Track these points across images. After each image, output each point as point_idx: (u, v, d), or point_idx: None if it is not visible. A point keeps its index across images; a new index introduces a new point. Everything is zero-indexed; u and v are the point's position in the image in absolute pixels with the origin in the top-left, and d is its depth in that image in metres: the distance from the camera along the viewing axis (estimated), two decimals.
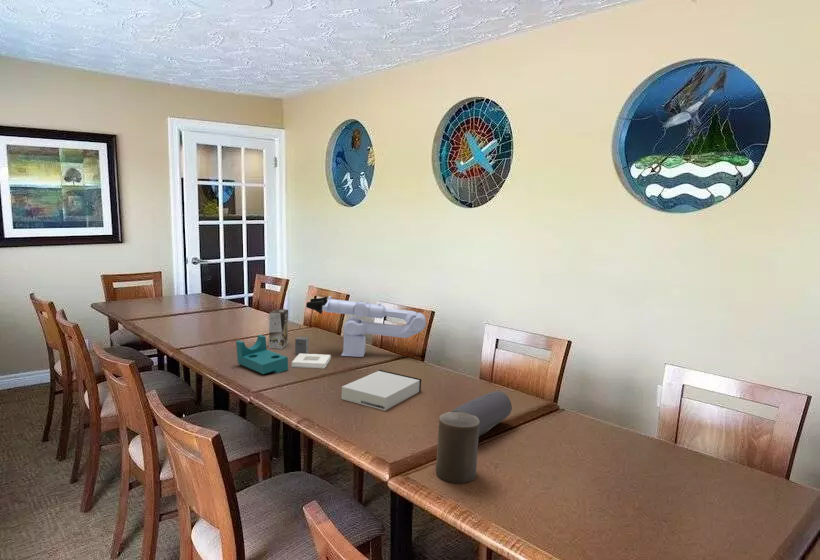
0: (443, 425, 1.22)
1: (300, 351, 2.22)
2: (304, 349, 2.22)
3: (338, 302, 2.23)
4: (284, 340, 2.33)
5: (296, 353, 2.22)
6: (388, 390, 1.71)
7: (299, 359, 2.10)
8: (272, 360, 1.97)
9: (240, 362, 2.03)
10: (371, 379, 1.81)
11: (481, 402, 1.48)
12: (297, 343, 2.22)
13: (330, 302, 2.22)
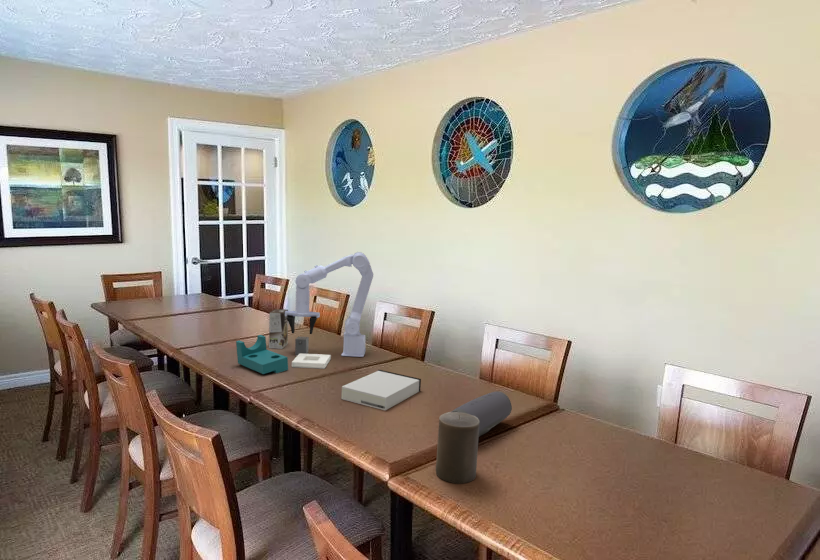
0: (443, 425, 1.22)
1: (300, 351, 2.22)
2: (304, 349, 2.22)
3: (305, 304, 2.20)
4: (284, 340, 2.33)
5: (296, 353, 2.22)
6: (388, 390, 1.71)
7: (299, 359, 2.10)
8: (272, 360, 1.97)
9: (240, 362, 2.03)
10: (371, 379, 1.81)
11: (481, 402, 1.48)
12: (297, 343, 2.22)
13: (306, 311, 2.21)
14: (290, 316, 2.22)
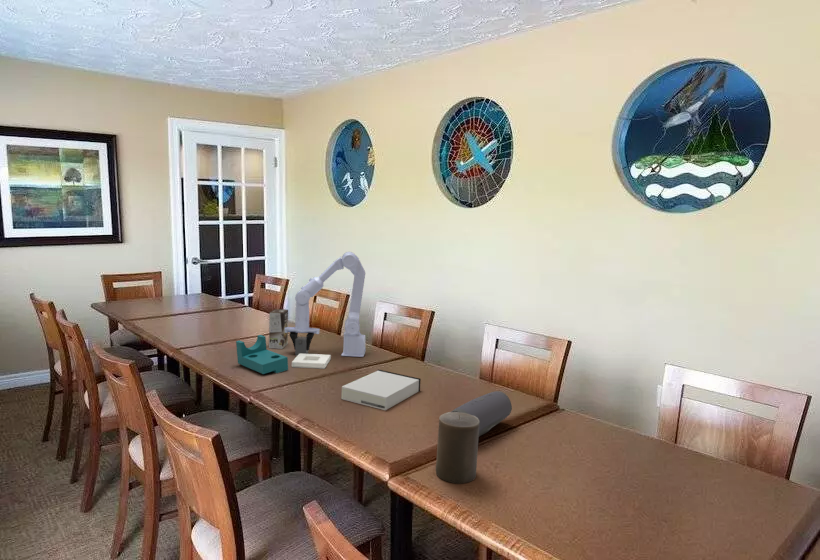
0: (443, 425, 1.22)
1: (300, 351, 2.22)
2: (304, 349, 2.22)
3: (305, 320, 2.21)
4: (284, 340, 2.33)
5: (296, 353, 2.22)
6: (388, 389, 1.71)
7: (299, 359, 2.10)
8: (272, 360, 1.97)
9: (240, 362, 2.03)
10: (370, 379, 1.81)
11: (481, 402, 1.48)
12: (297, 343, 2.22)
13: (306, 328, 2.21)
14: (290, 332, 2.23)
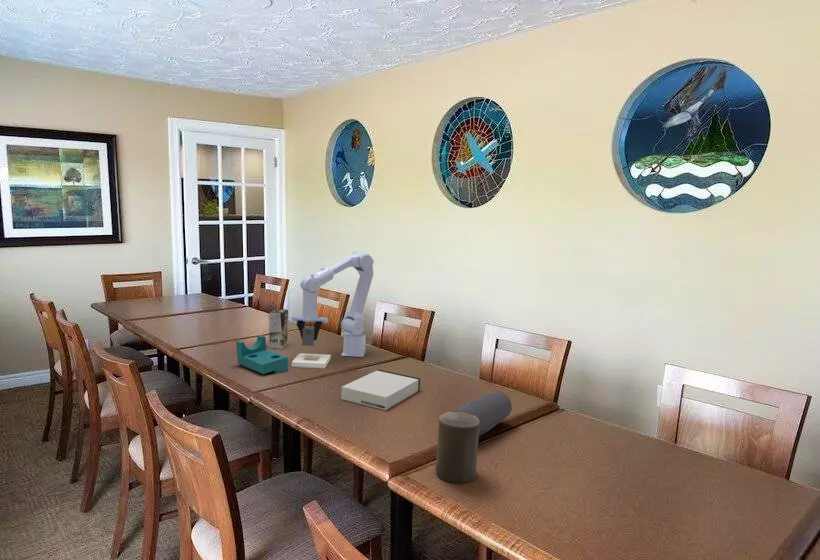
0: (443, 425, 1.22)
1: (307, 341, 2.12)
2: (312, 339, 2.12)
3: (313, 309, 2.10)
4: (284, 340, 2.33)
5: (303, 343, 2.12)
6: (388, 389, 1.71)
7: (299, 359, 2.10)
8: (272, 360, 1.97)
9: (240, 362, 2.03)
10: (370, 379, 1.81)
11: (481, 402, 1.48)
12: (304, 333, 2.11)
13: (314, 317, 2.11)
14: (297, 321, 2.12)
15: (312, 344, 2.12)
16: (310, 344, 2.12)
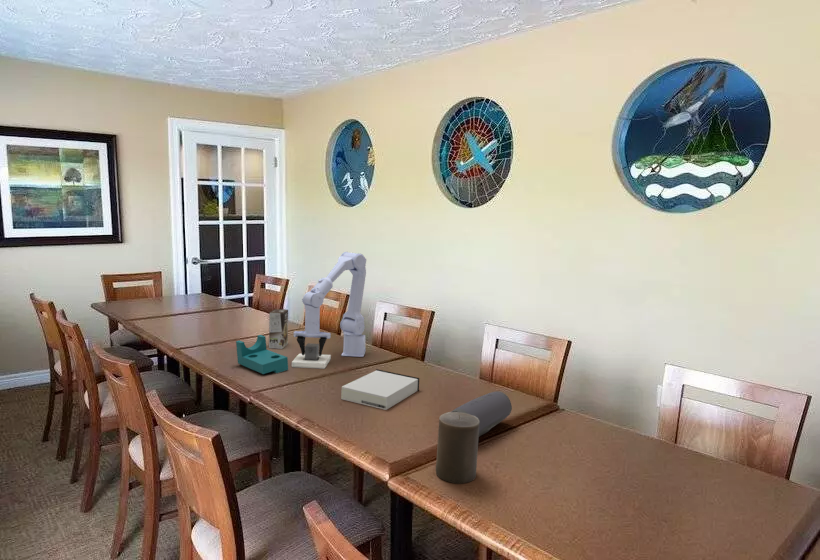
0: (443, 425, 1.22)
1: (310, 359, 2.09)
2: (314, 357, 2.09)
3: (315, 324, 2.07)
4: (284, 340, 2.33)
5: None
6: (388, 389, 1.72)
7: (299, 359, 2.10)
8: (272, 360, 1.97)
9: (240, 362, 2.03)
10: (370, 379, 1.81)
11: (481, 402, 1.48)
12: (307, 350, 2.09)
13: (316, 332, 2.08)
14: (299, 337, 2.10)
15: None
16: None
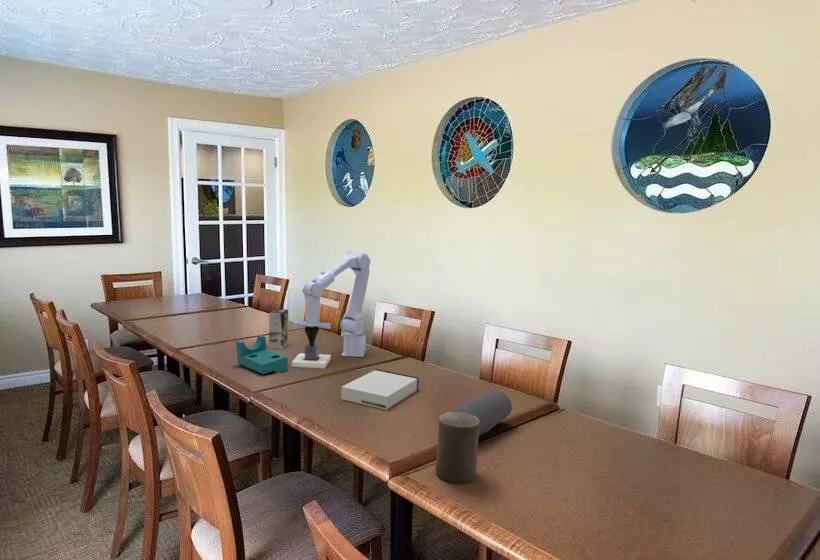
0: (443, 425, 1.22)
1: (310, 359, 2.09)
2: (314, 357, 2.09)
3: (315, 314, 2.07)
4: (284, 340, 2.33)
5: None
6: (388, 389, 1.72)
7: (299, 359, 2.10)
8: (272, 360, 1.97)
9: (240, 362, 2.03)
10: (369, 379, 1.81)
11: (481, 402, 1.48)
12: (307, 350, 2.09)
13: (316, 322, 2.08)
14: None
15: None
16: None
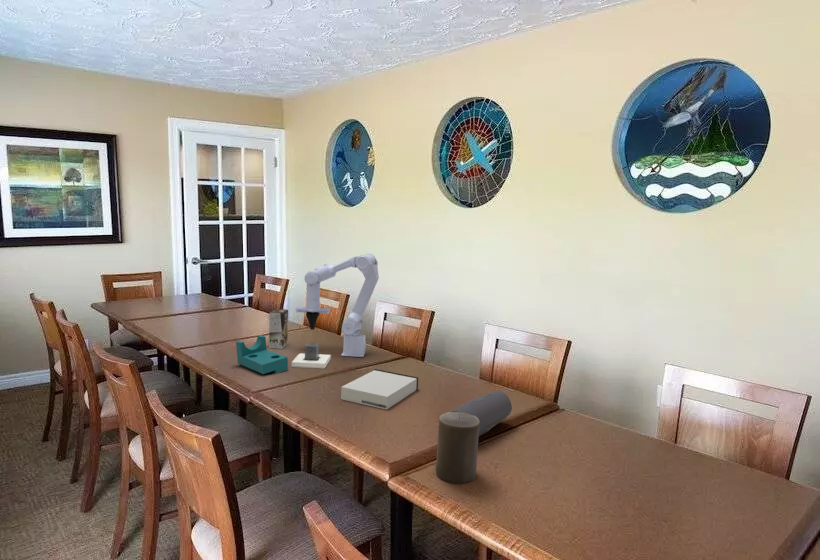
0: (443, 425, 1.22)
1: (310, 359, 2.09)
2: (314, 357, 2.09)
3: (316, 300, 2.27)
4: (284, 340, 2.33)
5: None
6: (388, 389, 1.72)
7: (299, 359, 2.10)
8: (272, 360, 1.97)
9: (240, 362, 2.03)
10: (369, 379, 1.81)
11: (481, 402, 1.48)
12: (307, 350, 2.09)
13: (317, 308, 2.27)
14: None
15: None
16: None
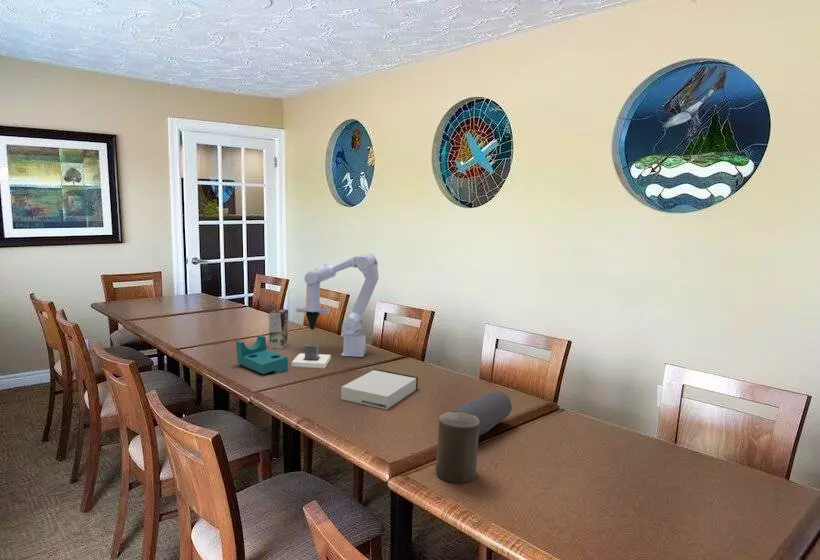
0: (443, 425, 1.22)
1: (310, 359, 2.09)
2: (314, 357, 2.09)
3: (316, 300, 2.27)
4: (284, 340, 2.33)
5: None
6: (388, 389, 1.72)
7: (299, 359, 2.10)
8: (272, 360, 1.97)
9: (240, 362, 2.03)
10: (368, 378, 1.81)
11: (481, 402, 1.48)
12: (307, 350, 2.09)
13: (317, 308, 2.27)
14: None
15: None
16: None
